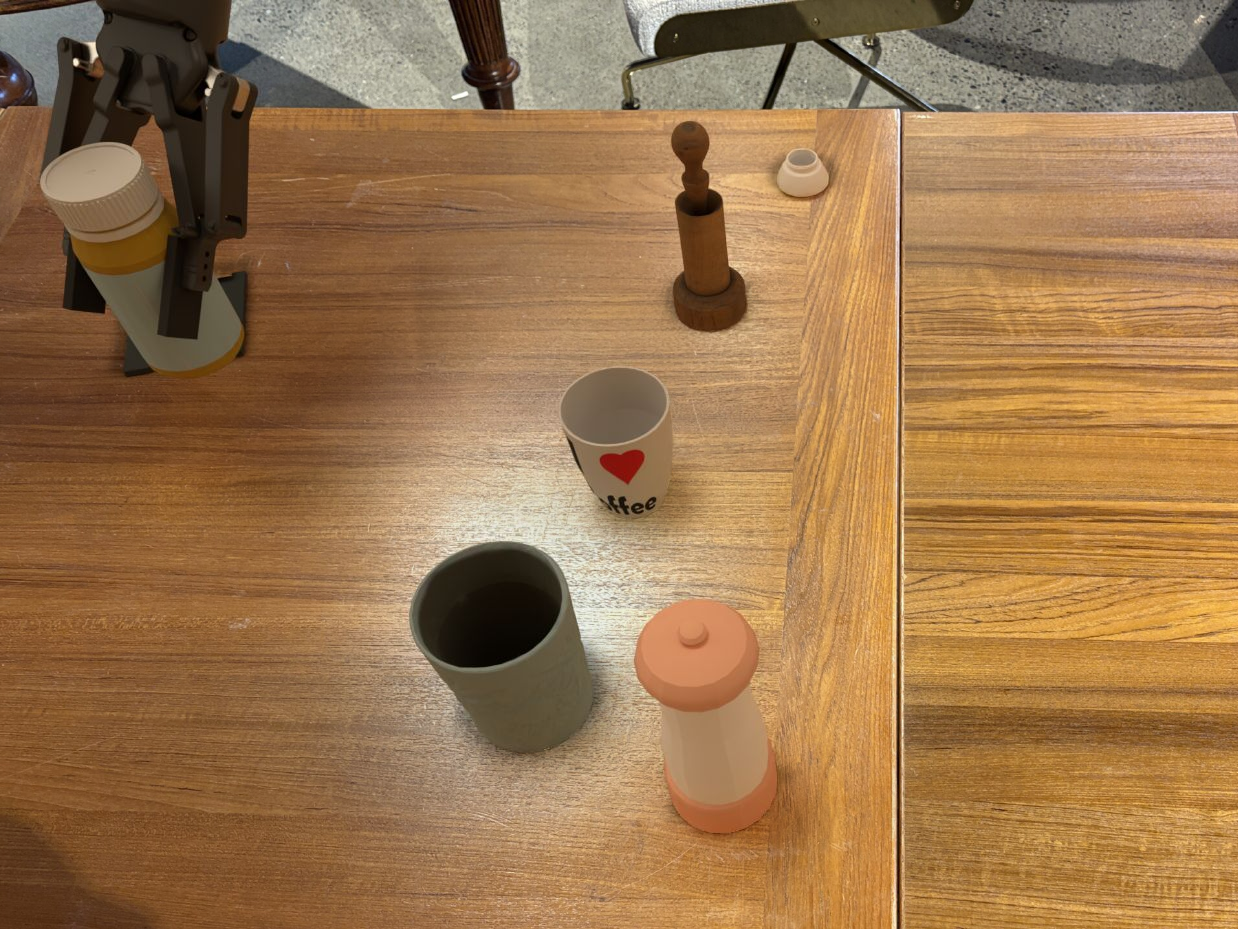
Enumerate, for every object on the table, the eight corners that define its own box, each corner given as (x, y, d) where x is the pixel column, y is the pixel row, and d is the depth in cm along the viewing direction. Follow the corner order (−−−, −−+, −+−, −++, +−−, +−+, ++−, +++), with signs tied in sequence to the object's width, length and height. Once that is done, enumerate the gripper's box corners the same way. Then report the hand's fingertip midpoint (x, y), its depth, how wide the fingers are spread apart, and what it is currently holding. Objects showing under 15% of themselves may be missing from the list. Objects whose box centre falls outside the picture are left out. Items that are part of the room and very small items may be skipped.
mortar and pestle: (761, 312, 107) (746, 132, 92) (699, 342, 105) (673, 162, 90) (722, 272, 110) (702, 91, 95) (661, 300, 108) (630, 120, 93)
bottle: (154, 395, 85) (34, 218, 72) (144, 333, 88) (29, 154, 76) (254, 367, 86) (154, 188, 74) (241, 306, 90) (143, 127, 77)
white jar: (768, 192, 117) (815, 205, 115) (767, 166, 114) (814, 179, 113) (791, 163, 119) (837, 176, 118) (790, 137, 117) (836, 149, 115)
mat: (126, 376, 104) (122, 371, 103) (136, 294, 110) (132, 289, 110) (244, 355, 105) (241, 350, 105) (247, 275, 111) (244, 270, 111)
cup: (566, 518, 94) (538, 430, 86) (611, 445, 98) (588, 355, 90) (659, 545, 92) (640, 458, 84) (701, 470, 97) (687, 380, 88)
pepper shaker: (686, 729, 83) (646, 564, 67) (788, 747, 82) (771, 584, 66) (657, 823, 79) (606, 672, 63) (763, 843, 78) (739, 695, 63)
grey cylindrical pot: (561, 781, 81) (520, 691, 71) (432, 737, 83) (375, 643, 73) (626, 662, 86) (596, 562, 77) (503, 623, 89) (458, 522, 79)
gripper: (-11, -87, 74) (-39, 285, 79) (258, -33, 70) (211, 355, 75) (90, -42, 82) (59, 296, 87) (340, 9, 77) (292, 361, 83)
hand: (130, 323), depth 81 cm, fingers closed on bottle, 7 cm apart
